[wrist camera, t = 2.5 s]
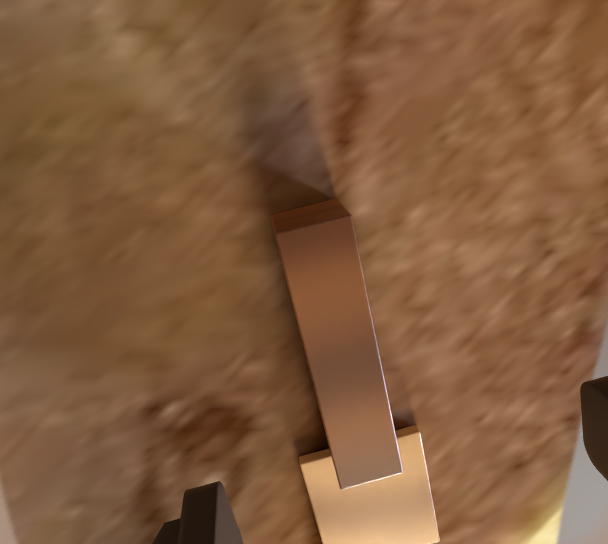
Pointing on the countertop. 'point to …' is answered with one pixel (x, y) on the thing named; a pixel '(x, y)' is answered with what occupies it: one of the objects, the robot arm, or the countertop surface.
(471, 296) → the countertop surface
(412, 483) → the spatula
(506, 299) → the countertop surface
